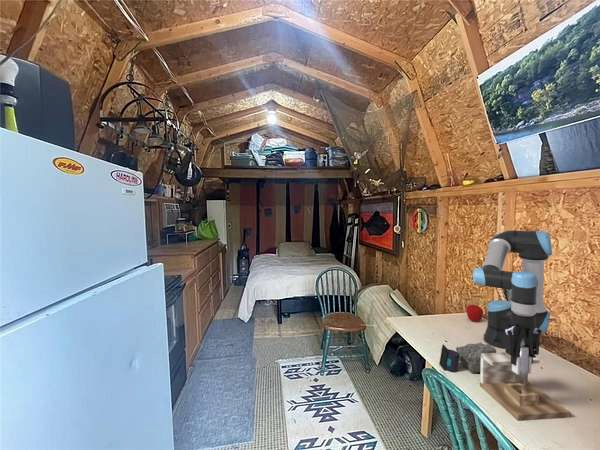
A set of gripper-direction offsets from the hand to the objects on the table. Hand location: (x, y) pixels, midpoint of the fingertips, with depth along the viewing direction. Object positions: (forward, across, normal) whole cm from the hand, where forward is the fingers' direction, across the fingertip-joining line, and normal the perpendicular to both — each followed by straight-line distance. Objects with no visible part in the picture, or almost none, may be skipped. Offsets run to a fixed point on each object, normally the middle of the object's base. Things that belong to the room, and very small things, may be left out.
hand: (521, 372), depth 110 cm
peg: (+4, 0, 0) cm, 4 cm away
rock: (+13, -1, -27) cm, 30 cm away
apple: (+13, -35, -78) cm, 87 cm away
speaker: (+13, +13, -26) cm, 32 cm away
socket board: (+13, -2, -2) cm, 13 cm away
